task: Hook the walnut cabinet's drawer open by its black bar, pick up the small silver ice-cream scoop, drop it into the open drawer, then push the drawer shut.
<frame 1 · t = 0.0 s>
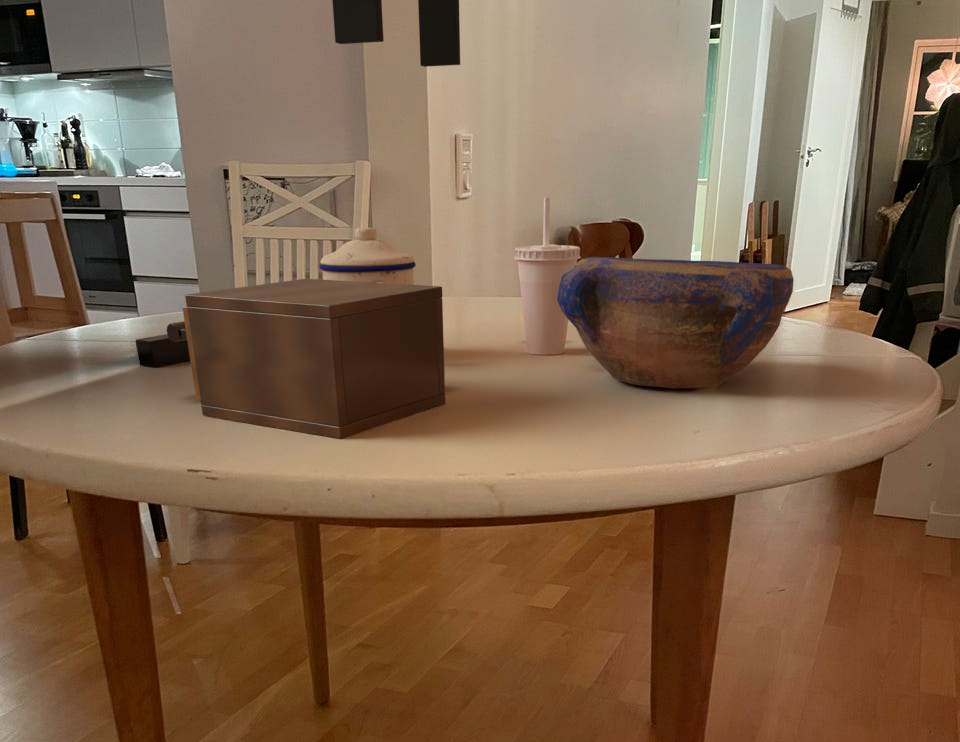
hand: (403, 55, 59), 23 cm above the table, tool pointing down, fingers open, 13 cm apart
smoothie: (545, 353, 92), on the table
cabinet: (326, 409, 71), on the table
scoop: (179, 359, 91), on the table
drawer: (277, 346, 71), point 4 cm above the table, slide at 0.0 cm, touching cabinet
bowl: (671, 381, 79), on the table
teacup with lid: (376, 361, 90), on the table
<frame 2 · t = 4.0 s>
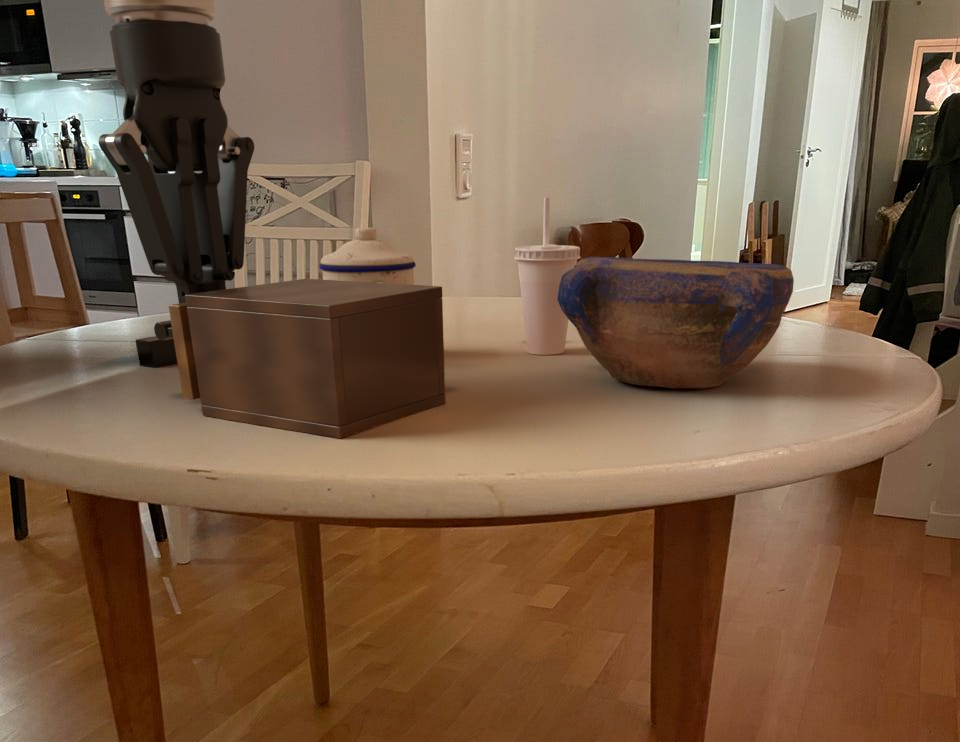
hand: (212, 366, 75), 2 cm above the table, tool pointing down, fingers closed
drawer: (263, 345, 71), point 4 cm above the table, slide at 1.5 cm
everything else where it was.
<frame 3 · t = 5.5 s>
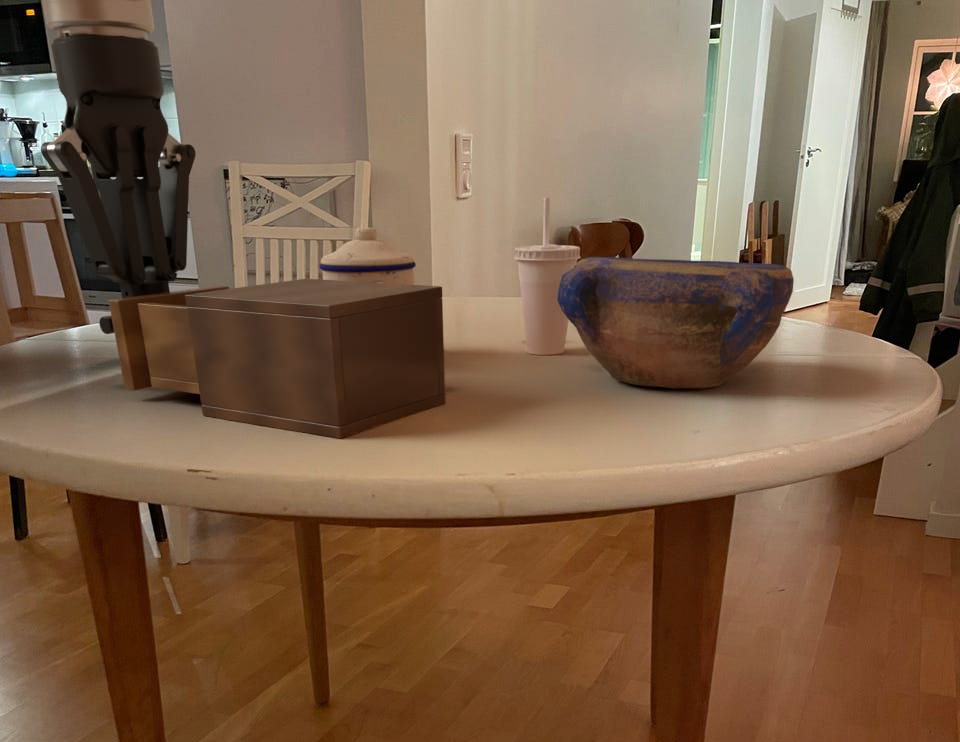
hand: (157, 362, 79), 2 cm above the table, tool pointing down, fingers closed
drawer: (202, 338, 75), point 4 cm above the table, slide at 8.4 cm, touching gripper
everything else where it was.
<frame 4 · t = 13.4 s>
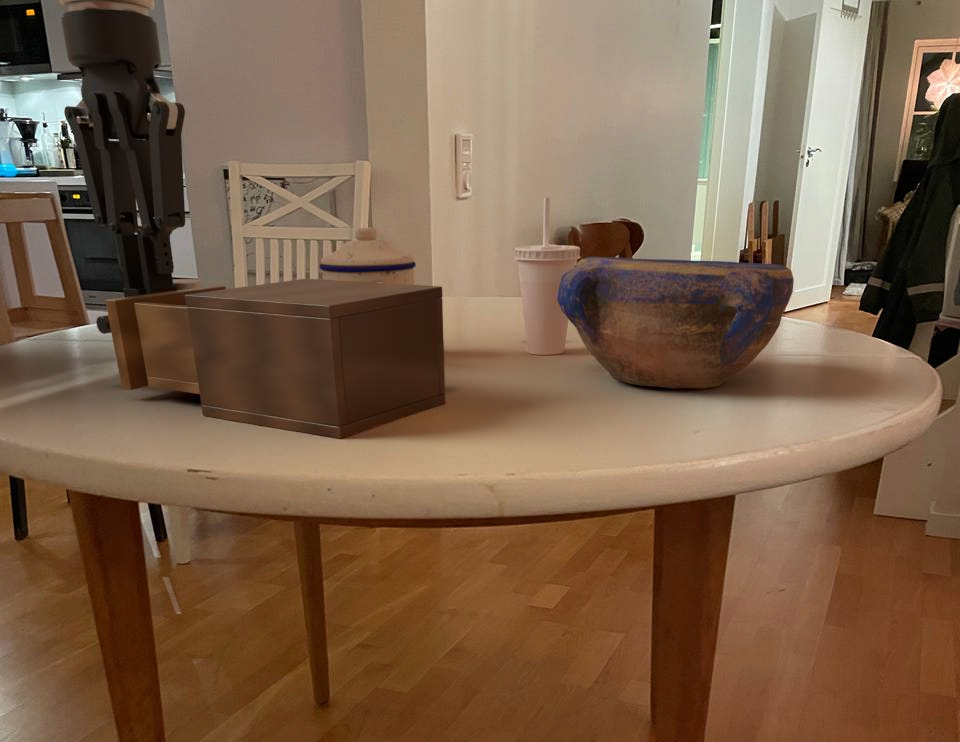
hand: (152, 309, 87), 5 cm above the table, tool pointing down, fingers closed on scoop, 2 cm apart
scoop: (169, 311, 89), point 5 cm above the table, touching gripper
drawer: (199, 338, 75), point 4 cm above the table, slide at 8.8 cm
everything else where it was.
when the fingers open (6 cm above the table, at t = 17.6 s): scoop drops 3 cm, resting on drawer.
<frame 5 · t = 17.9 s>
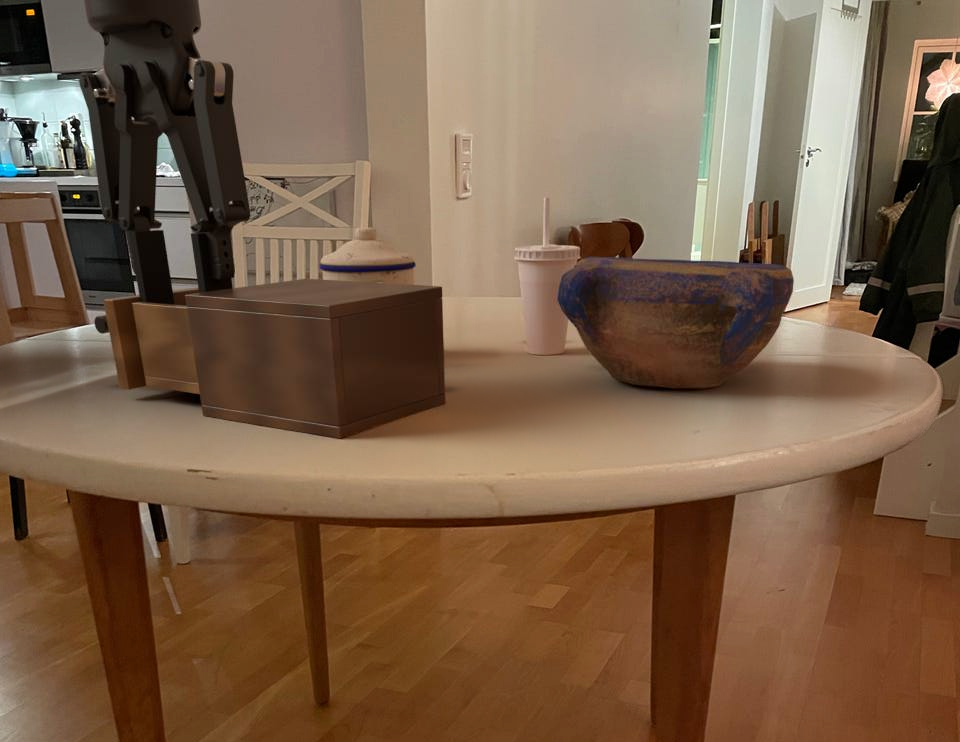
hand: (189, 321, 72), 6 cm above the table, tool pointing down, fingers open, 6 cm apart
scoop: (213, 368, 76), point 2 cm above the table, touching drawer
drawer: (197, 338, 75), point 4 cm above the table, slide at 9.0 cm, touching gripper, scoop
everything else where it was.
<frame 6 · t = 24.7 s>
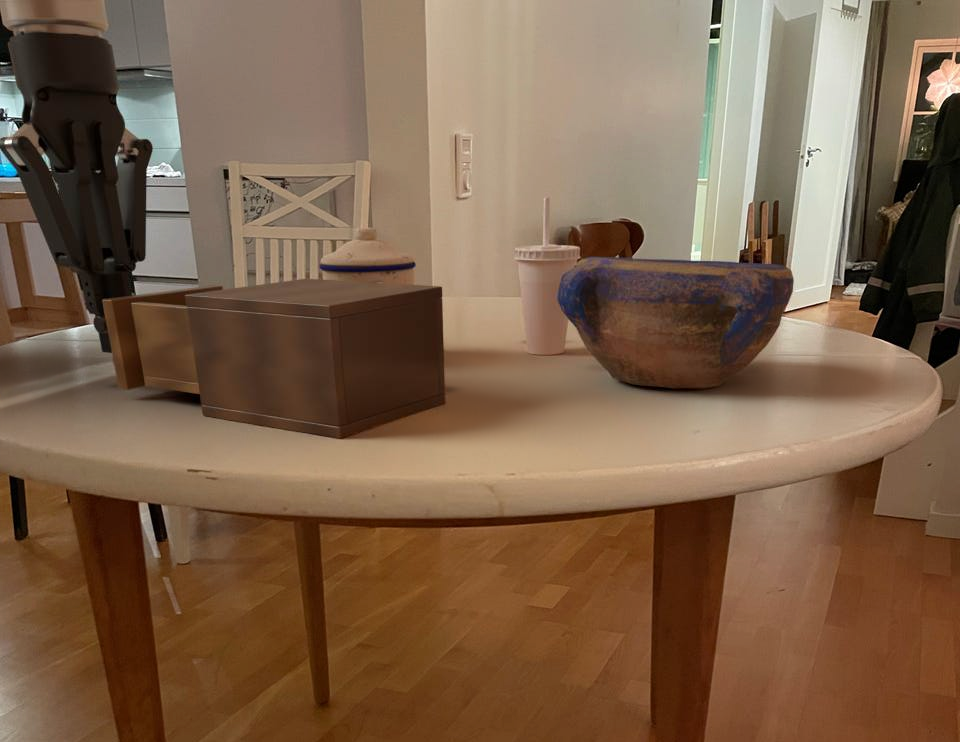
hand: (119, 351, 81), 2 cm above the table, tool pointing down, fingers closed
drawer: (196, 338, 75), point 4 cm above the table, slide at 9.1 cm, touching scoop
everything else where it was.
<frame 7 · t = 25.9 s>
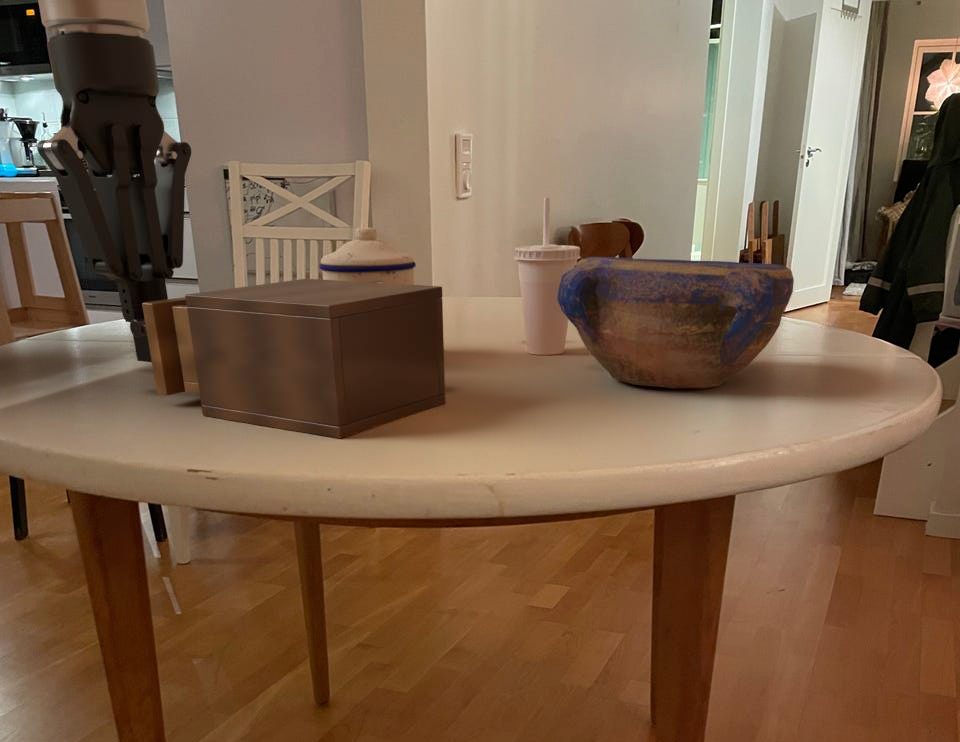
hand: (154, 360, 79), 2 cm above the table, tool pointing down, fingers closed
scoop: (252, 373, 73), point 2 cm above the table, touching drawer
drawer: (236, 342, 73), point 4 cm above the table, slide at 4.4 cm, touching gripper, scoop
everything else where it was.
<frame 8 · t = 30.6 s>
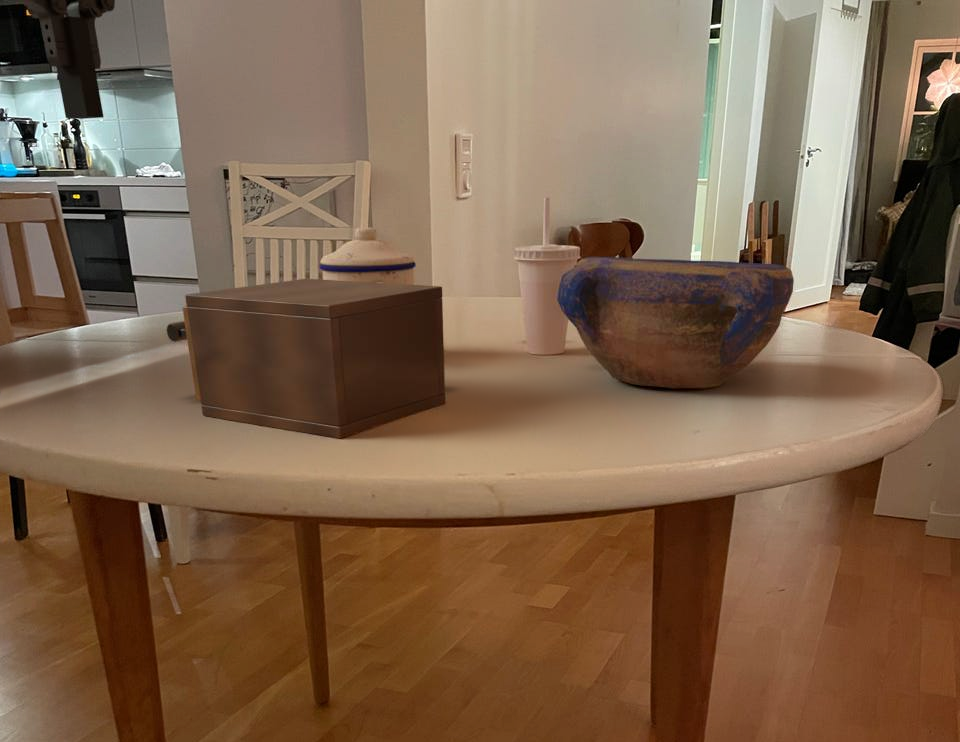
hand: (84, 117, 72), 20 cm above the table, tool pointing down, fingers closed
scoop: (294, 378, 71), point 2 cm above the table, touching drawer
drawer: (277, 346, 71), point 4 cm above the table, slide at 0.0 cm, touching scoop
everything else where it was.
at the end: drawer pulled out 10.1 cm at the most during the clip, back to where it started at the end; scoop inside the target area in the cabinet (3.1 cm from its centre), point 2.0 cm above the cabinet's base; drawer slide at 0.0 cm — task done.
